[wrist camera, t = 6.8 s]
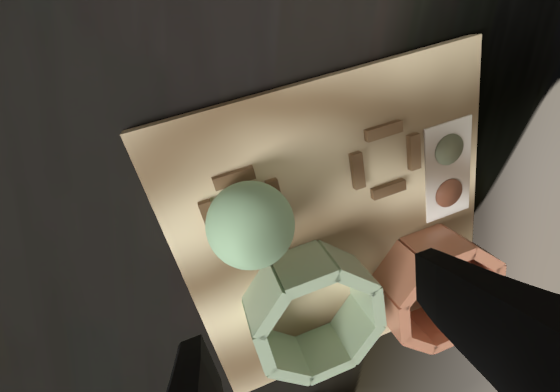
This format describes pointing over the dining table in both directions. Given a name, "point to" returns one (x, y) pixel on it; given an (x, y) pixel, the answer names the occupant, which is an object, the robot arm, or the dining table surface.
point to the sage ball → (250, 225)
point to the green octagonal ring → (325, 339)
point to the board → (318, 176)
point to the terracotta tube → (402, 283)
